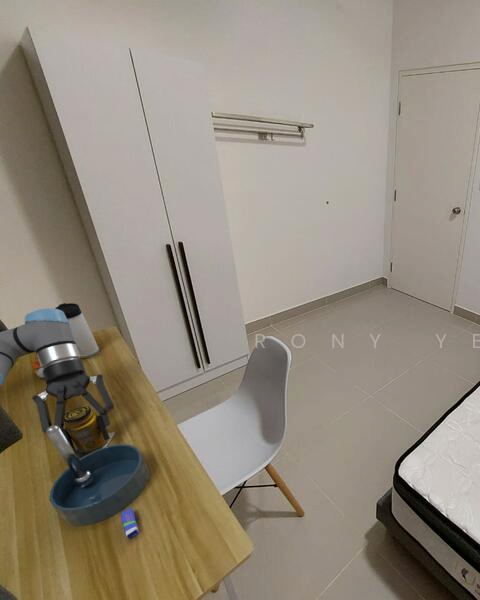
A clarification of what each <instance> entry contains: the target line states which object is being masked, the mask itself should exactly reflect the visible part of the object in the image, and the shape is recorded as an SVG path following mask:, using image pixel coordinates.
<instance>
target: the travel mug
mask: <svg viewBox="0 0 480 600" xmlns="http://www.w3.org/2000/svg"><path fill="white" fill-rule="evenodd" d="M54 309H58V310H61V311H63V312H64V314H65V316H66V318H67V320H68V322H69V323H70V328H71V332H72V335H73V338H74V341H75V343H76V346H77V349H78V351H79V354H80V357H81V358H80V360H81V359H82V360H83V359H89V358H92V357H94V356H96V355H98V354H99V353H100V348H99V346H98V344H97V341H96V339H95V337H94V335H93V333H92V330H91V329H90V327H89V325H88V322H87V319H86V318H85V316H84V313H83V311H82V310H81V307H80V306H79V304H78V303H74V302H73V303H72V302H70V303H65V302H64V303H60V304H58V306H56V307H55V308H54Z"/></svg>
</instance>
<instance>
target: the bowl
mask: <svg viewBox="0 0 480 600" xmlns="http://www.w3.org/2000/svg"><path fill="white" fill-rule="evenodd" d="M79 460H80V461H81V463H82V465H83V466H84V468H85V469H86V470H90V471H92V472H93V473H94V479H93V481H92V482H91V483H90V484H89V485H87V486H85V487H76V486H75V485H74V484H73V479H74V477H75V476H74V475H73V473H72V471H71V470H70V468H69V467H67V468H66V469H65V470H64V471H63V472H61V474H60V475H59V476H58V477H57V479H55V481H54V482H53V485H52V487H51V489H50V491H49V502H50V503H51V506H52V507H53V508H54V510H55V511H56V512H57V513H58V515H59V517H61V519H62V520H63V521H65V523H66V524H69V525H71V526H76V527H84V526H90V525H94V524H98V523H100V522H103V521H105V520H108V519H110V518H111V517H113V516H115V515H117V514H118V513H120V512H121V511H122V510H125V509H126V508H127V507H128V506H129V505H130V504H132V502H134V501H135V500H136V499H137V498H138V496H139V495H140V494H141V493H142V491H143V490H144V488H146V487H145V486H146V485H147V482H148V480H149V475H150V473H149V472H150V471H149V468H148V464H147V463H146V461H145V458H144V456H143V454H142V452H141V451H140V450H139V448H138V447H137V446H134V445H132V444H128V443H127V444H126V443H125V444H124V443H119V444H112V445H107V446H106V447H104V448H101V449H98V450H96V451H94V452H92V453H90V454H88V455H86V456H84V457H82V458H81V459H79Z"/></svg>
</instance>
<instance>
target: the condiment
mask: <svg viewBox="0 0 480 600" xmlns="http://www.w3.org/2000/svg"><path fill="white" fill-rule="evenodd" d="M97 416H98V415H97V414H96V413H95V412H93V411H92V408H91V407H90V406H88V405H80V406H76V407H73V408H72V409H70V410H68V411H67V412H65V415H64V416H63V421H64V426H65V427H64V429H66V430H67V432H68V434H69V435H70V437H71V439H72V442H73V445H74V446H75V451H76V455H77V457H78V458H79V459H81V458H82V457H84V456H86V455H88V454H90V453H92V452H94V451H96V450H98V449H101V448H104V447H107V446H109V444H110V442H111V440H112V439H113V437H114V436H115V433H116V431H111V432H108V434H109V437H110V439H108V440H104V438H103V435H102V432H101V429H100V426H99V423H98V420H97V418H96V417H97ZM64 464H66V462H65V461H64Z"/></svg>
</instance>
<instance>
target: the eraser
mask: <svg viewBox="0 0 480 600" xmlns="http://www.w3.org/2000/svg"><path fill="white" fill-rule="evenodd" d="M120 515H121V520H122V525H123V529H124V533H125V537H126V538H127V540H131V539H132V538H133V537H135V536H136V535H139V534H140V532H139V527H138V523H137V521H136V517H135V512H134V510H133V508H132V507H129V508H128V509H126V510H124V511H122V512H121V514H120Z"/></svg>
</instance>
